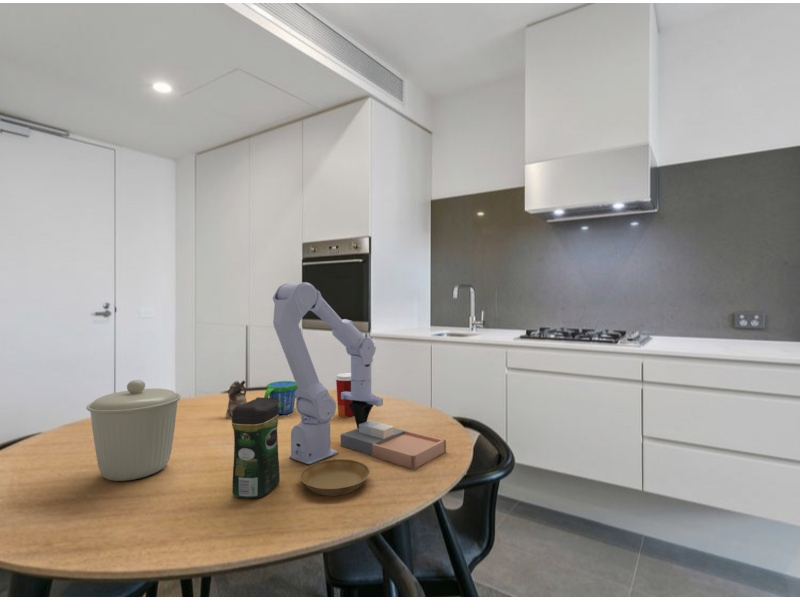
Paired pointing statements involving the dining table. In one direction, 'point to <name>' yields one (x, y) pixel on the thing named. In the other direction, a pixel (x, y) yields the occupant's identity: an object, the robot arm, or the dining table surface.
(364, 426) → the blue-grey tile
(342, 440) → the charcoal board
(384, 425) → the cream tile
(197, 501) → the dining table surface
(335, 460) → the plant saucer
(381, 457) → the terracotta tray
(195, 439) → the dining table surface
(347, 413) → the paper cup
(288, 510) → the dining table surface
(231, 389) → the figurine
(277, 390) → the snack cup
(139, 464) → the canister
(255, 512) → the dining table surface
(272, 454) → the coffee jar
